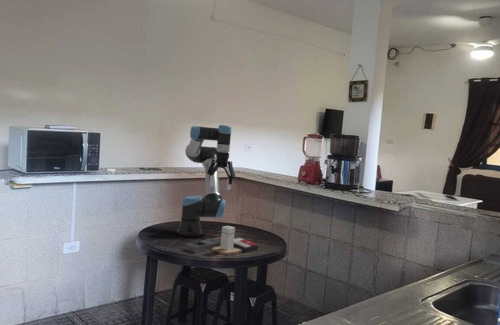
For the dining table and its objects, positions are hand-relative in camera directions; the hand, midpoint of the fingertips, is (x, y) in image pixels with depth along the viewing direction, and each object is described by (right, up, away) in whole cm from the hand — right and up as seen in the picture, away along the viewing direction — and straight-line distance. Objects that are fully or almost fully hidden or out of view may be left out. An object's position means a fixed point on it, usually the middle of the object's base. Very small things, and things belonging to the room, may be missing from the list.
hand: (219, 188), depth 240 cm
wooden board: (+5, -33, -15) cm, 37 cm away
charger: (+5, -32, -16) cm, 36 cm away
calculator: (+13, -34, -7) cm, 37 cm away
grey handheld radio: (-4, -32, -10) cm, 34 cm away
